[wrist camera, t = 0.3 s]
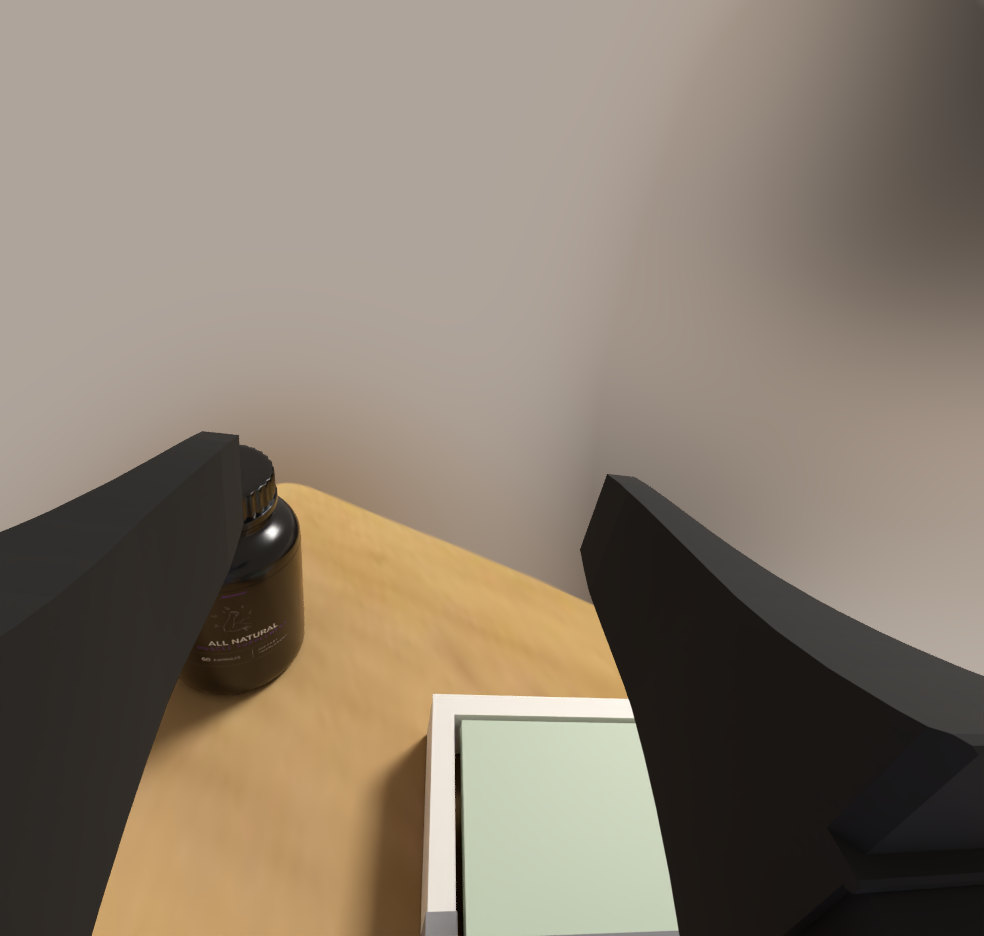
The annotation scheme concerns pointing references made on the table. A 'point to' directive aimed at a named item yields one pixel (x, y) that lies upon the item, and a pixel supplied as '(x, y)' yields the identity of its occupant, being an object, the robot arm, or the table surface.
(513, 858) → the trapdoor
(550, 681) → the table surface
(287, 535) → the supplement bottle
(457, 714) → the trapdoor frame
